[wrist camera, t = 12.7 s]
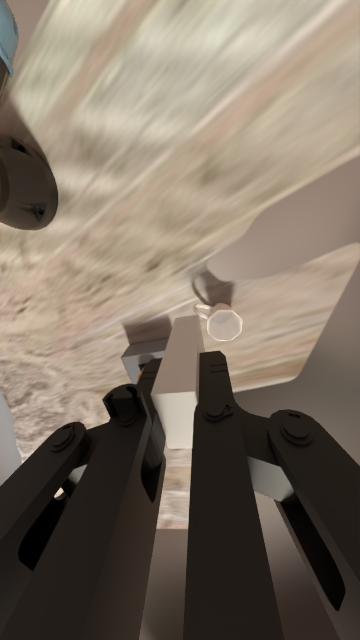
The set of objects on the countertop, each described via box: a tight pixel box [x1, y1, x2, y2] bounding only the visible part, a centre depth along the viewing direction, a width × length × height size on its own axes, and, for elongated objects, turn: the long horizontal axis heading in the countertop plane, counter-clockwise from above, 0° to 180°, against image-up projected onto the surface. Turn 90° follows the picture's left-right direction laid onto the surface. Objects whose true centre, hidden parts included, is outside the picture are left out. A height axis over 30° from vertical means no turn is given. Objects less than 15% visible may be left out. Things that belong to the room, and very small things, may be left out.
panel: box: [121, 338, 169, 384], centre depth 50 cm, size 26×12×6 cm, turn 14°
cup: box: [193, 303, 242, 341], centre depth 39 cm, size 7×10×8 cm
